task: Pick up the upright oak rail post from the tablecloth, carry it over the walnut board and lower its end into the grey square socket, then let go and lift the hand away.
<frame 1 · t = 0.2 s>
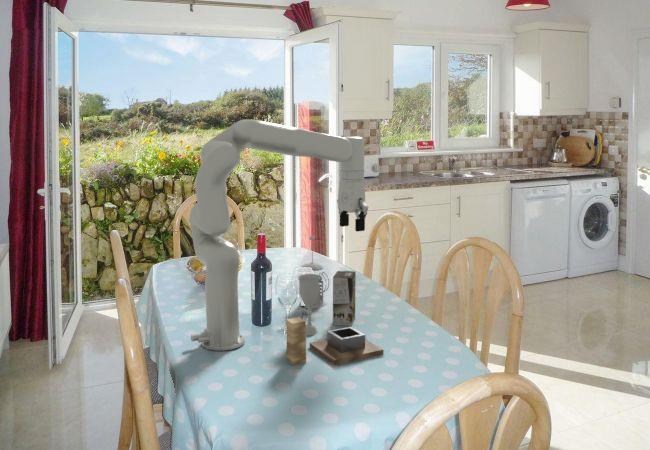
hand: (352, 228, 205), 31 cm above the table, tool pointing down, fingers open, 9 cm apart
rail post: (296, 361, 176), on the table
french press: (314, 305, 228), on the table
chalice: (309, 333, 200), on the table
bracket board: (345, 351, 184), on the table
grey square socket: (346, 339, 183), on the bracket board, point 4 cm above the table
coffee box: (344, 321, 210), on the table
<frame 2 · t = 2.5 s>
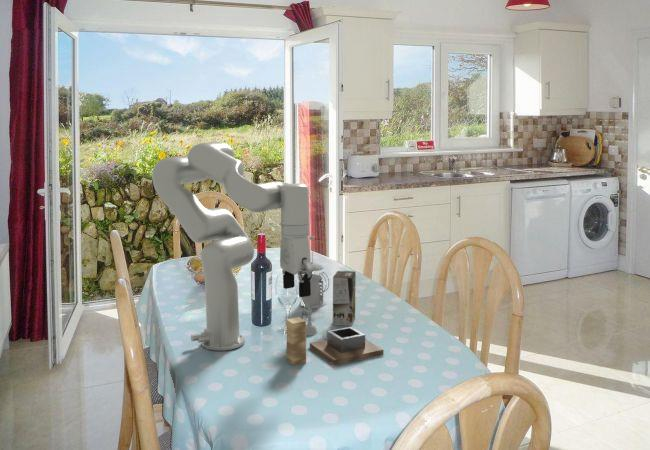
hand: (296, 292, 173), 20 cm above the table, tool pointing down, fingers open, 9 cm apart
nothing on the table moved.
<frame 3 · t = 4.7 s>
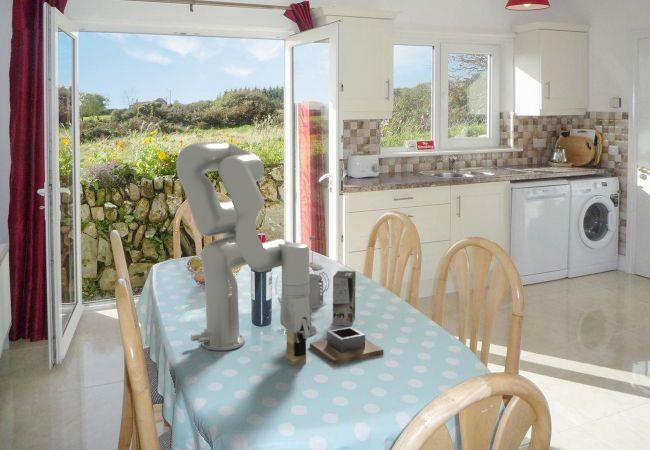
hand: (296, 351, 176), 3 cm above the table, tool pointing down, fingers closed on rail post, 4 cm apart
rail post: (296, 361, 176), on the table, touching gripper
everything else where it was.
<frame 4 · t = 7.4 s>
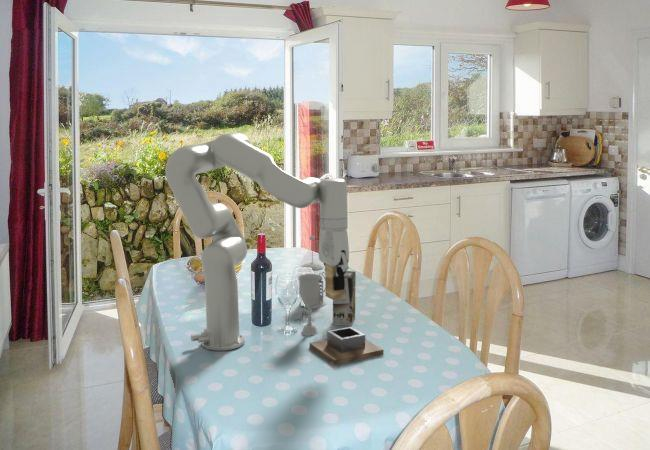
hand: (335, 287, 178), 20 cm above the table, tool pointing down, fingers closed on rail post, 4 cm apart
rail post: (335, 296, 179), point 17 cm above the table, touching gripper
everything else where it was.
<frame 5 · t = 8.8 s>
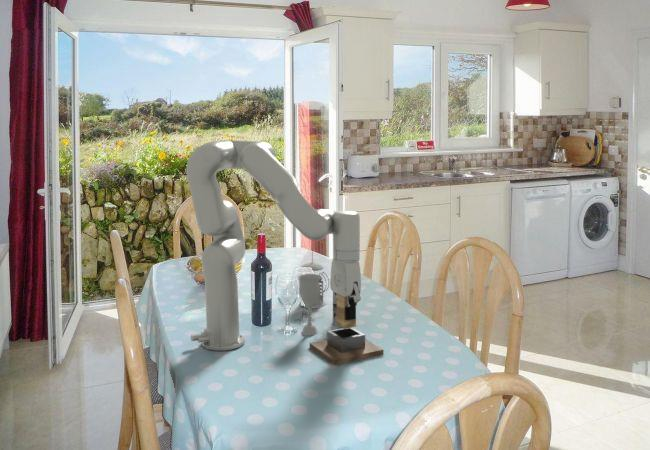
hand: (346, 316, 182), 10 cm above the table, tool pointing down, fingers closed on rail post, 4 cm apart
rail post: (346, 325, 183), point 8 cm above the table, touching gripper
everything else where it was.
when the fingers open (6 cm above the table, at t = 10.0 s): rail post drops 2 cm, resting on bracket board.
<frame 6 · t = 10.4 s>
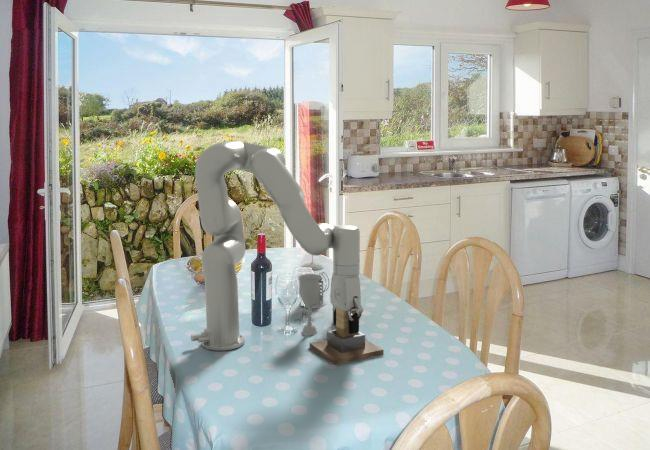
hand: (346, 328, 183), 7 cm above the table, tool pointing down, fingers open, 7 cm apart
rail post: (345, 346, 184), point 1 cm above the table, touching bracket board
everything else where it was.
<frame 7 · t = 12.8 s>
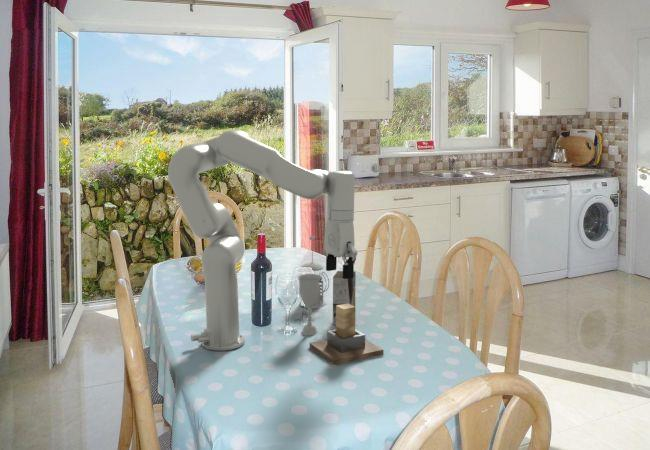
hand: (339, 274, 181), 23 cm above the table, tool pointing down, fingers open, 9 cm apart
nothing on the table moved.
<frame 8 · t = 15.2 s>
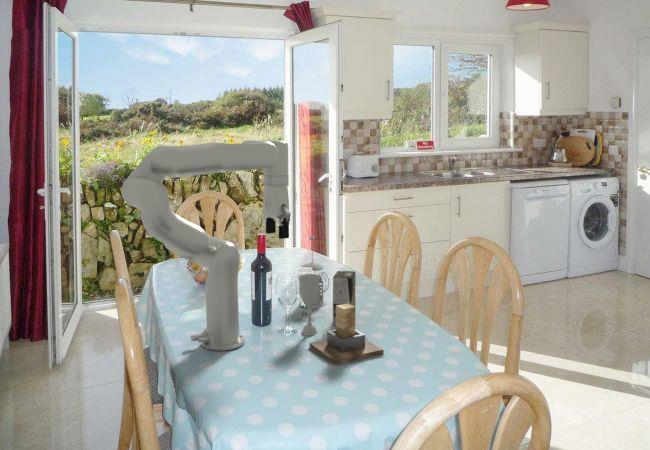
hand: (277, 235, 198), 30 cm above the table, tool pointing down, fingers open, 9 cm apart
nothing on the table moved.
at the end: rail post 0.1 cm off-centre on the grey square socket, point 1.5 cm above the grey square socket's base; rail post tilted 0°; the gripper is holding nothing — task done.
